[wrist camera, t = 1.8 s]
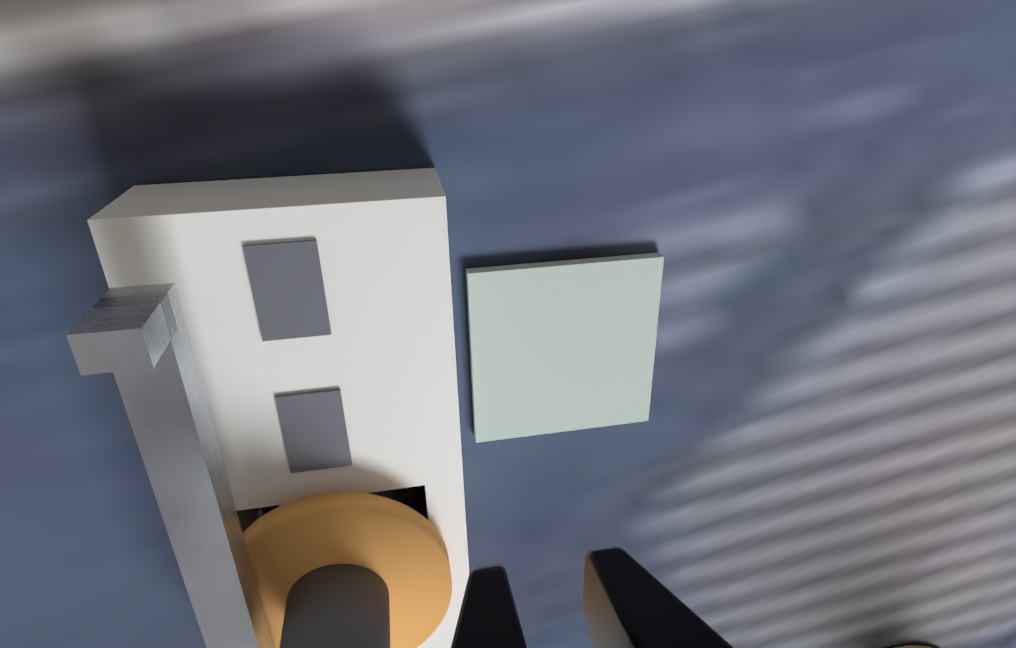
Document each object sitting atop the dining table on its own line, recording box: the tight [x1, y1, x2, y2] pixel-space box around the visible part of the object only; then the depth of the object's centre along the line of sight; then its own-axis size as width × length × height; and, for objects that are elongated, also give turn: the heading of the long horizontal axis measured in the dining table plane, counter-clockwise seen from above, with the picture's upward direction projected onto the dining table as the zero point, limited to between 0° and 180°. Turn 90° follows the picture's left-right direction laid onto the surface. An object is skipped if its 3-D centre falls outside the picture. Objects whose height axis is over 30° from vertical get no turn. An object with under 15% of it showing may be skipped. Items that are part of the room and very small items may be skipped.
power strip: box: [87, 168, 469, 648], centre depth 19 cm, size 20×8×4 cm, turn 1°
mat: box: [466, 252, 664, 443], centre depth 20 cm, size 6×6×1 cm
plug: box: [243, 488, 452, 648], centre depth 18 cm, size 6×6×8 cm
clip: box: [66, 283, 273, 648], centre depth 16 cm, size 17×2×2 cm, turn 1°
